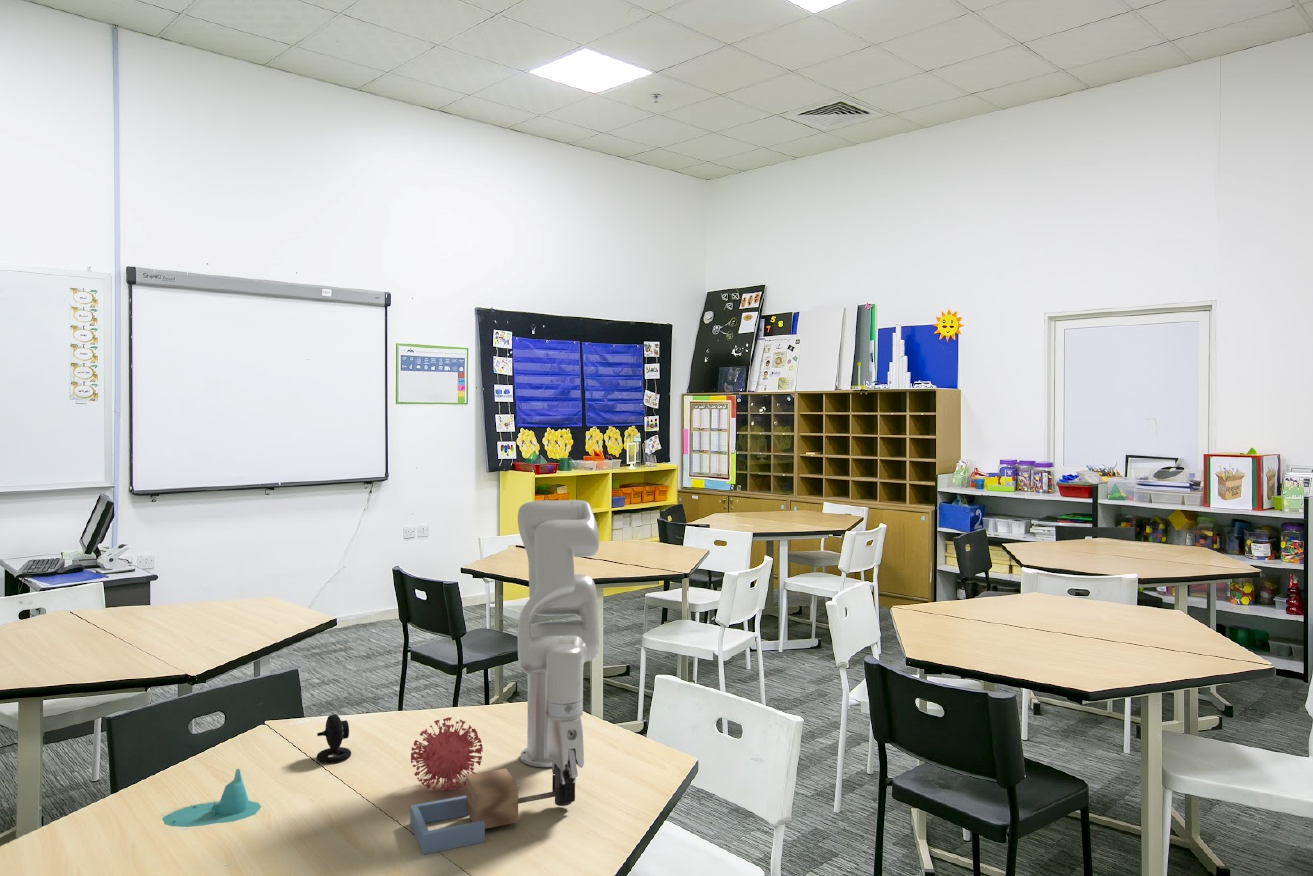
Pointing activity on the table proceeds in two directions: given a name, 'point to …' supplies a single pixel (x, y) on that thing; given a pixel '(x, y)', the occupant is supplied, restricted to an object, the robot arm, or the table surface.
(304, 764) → the table surface
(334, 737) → the webcam
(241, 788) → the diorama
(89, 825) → the table surface
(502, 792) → the tether block
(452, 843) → the blue-grey u-shaped piece
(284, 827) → the table surface
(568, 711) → the robot arm
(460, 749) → the virus model
